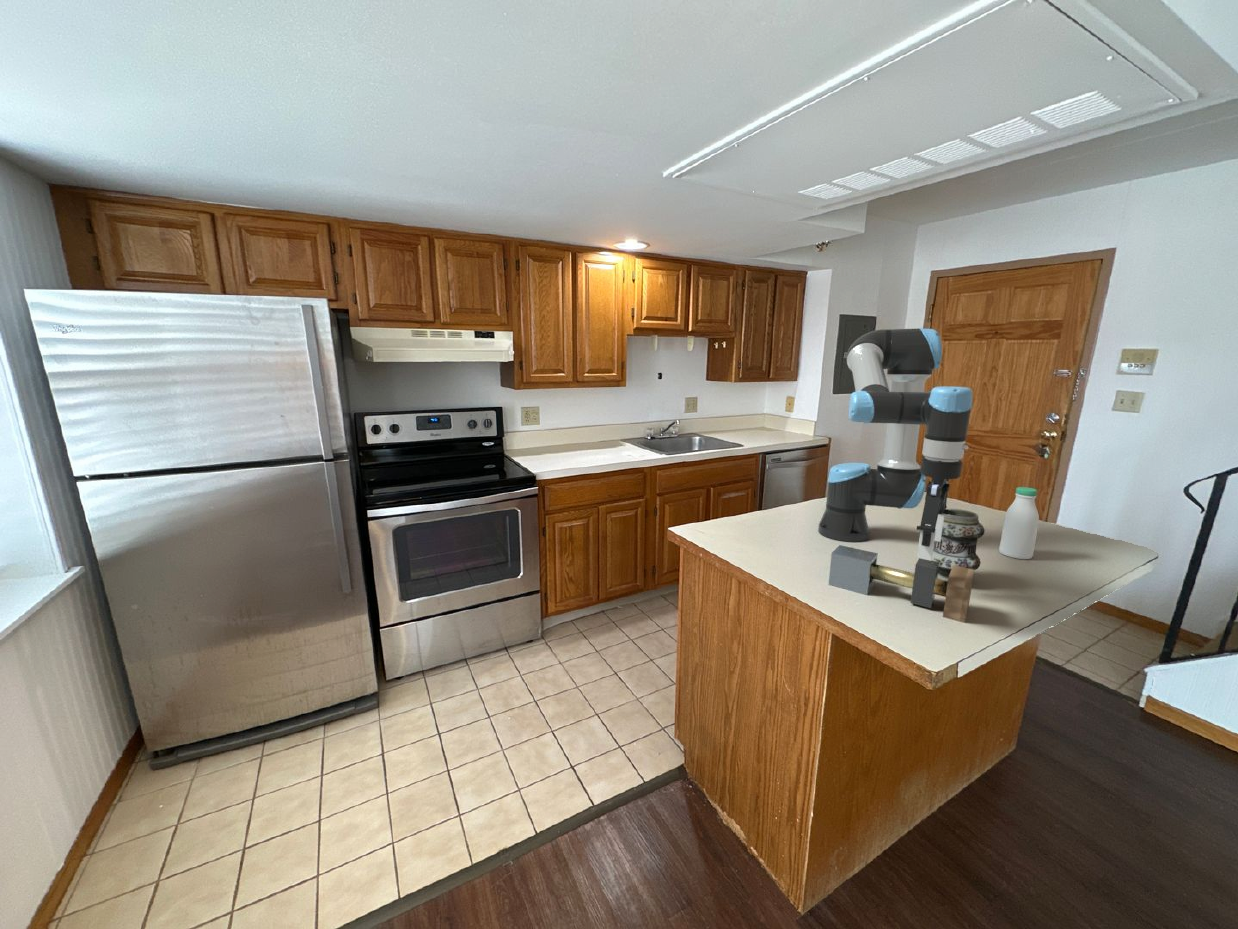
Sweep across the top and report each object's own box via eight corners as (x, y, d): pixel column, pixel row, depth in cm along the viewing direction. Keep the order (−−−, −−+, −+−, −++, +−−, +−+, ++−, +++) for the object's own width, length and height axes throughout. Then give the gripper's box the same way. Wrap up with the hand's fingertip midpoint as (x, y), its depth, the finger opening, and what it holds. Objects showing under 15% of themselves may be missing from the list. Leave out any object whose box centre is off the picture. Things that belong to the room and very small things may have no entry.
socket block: (942, 616, 108) (948, 576, 106) (947, 603, 114) (953, 565, 112) (964, 622, 105) (971, 581, 103) (968, 608, 111) (974, 569, 109)
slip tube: (859, 589, 120) (863, 553, 118) (864, 582, 124) (868, 547, 122) (957, 615, 107) (963, 575, 105) (959, 606, 111) (965, 568, 109)
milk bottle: (1038, 561, 138) (1051, 492, 133) (1007, 559, 139) (1019, 491, 135) (1022, 551, 145) (1034, 485, 141) (993, 549, 146) (1003, 484, 142)
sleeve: (828, 584, 123) (831, 553, 122) (836, 575, 129) (839, 545, 127) (867, 595, 118) (870, 562, 116) (874, 585, 123) (877, 553, 121)
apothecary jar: (964, 571, 131) (974, 507, 128) (986, 591, 120) (998, 521, 116) (914, 567, 134) (922, 504, 130) (931, 586, 122) (941, 517, 119)
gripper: (955, 471, 95) (940, 572, 100) (968, 451, 113) (955, 536, 118) (911, 466, 99) (899, 562, 104) (931, 447, 118) (919, 529, 123)
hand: (929, 549), depth 111 cm, fingers open, 13 cm apart
